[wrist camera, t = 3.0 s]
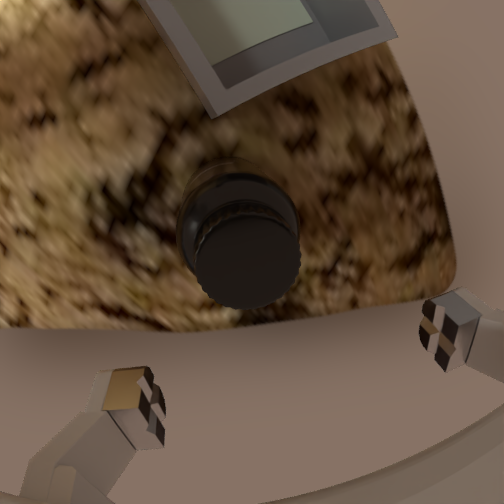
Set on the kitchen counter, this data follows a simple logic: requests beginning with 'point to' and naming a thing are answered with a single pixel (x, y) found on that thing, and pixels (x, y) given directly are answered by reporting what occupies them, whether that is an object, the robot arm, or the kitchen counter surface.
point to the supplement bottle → (238, 234)
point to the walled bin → (260, 41)
